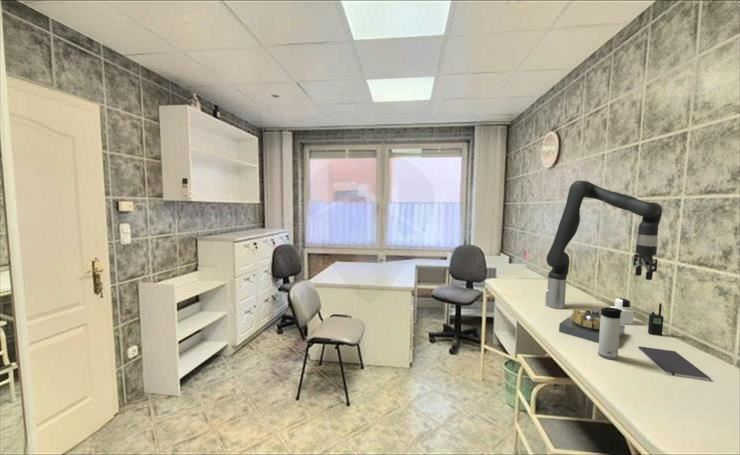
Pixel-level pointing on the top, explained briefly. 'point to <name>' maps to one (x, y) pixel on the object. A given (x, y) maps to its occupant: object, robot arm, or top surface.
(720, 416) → the top surface
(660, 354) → the notebook
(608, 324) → the travel mug
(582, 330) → the domed button plate
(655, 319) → the walkie-talkie
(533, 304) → the top surface
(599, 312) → the segmented ring
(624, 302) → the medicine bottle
